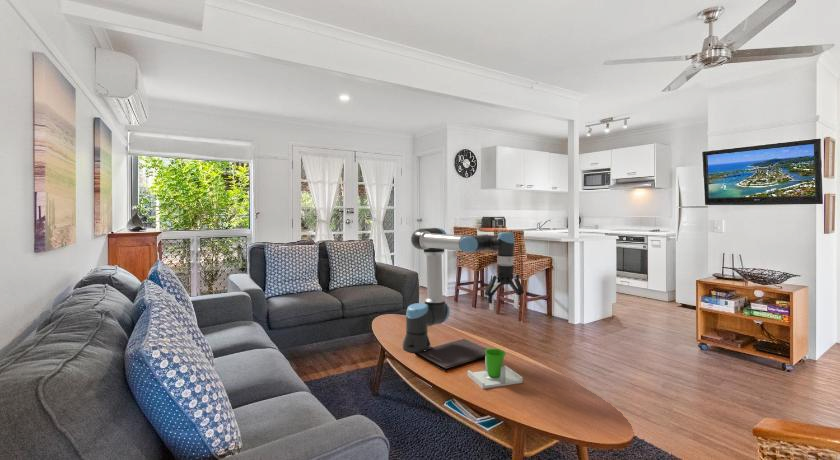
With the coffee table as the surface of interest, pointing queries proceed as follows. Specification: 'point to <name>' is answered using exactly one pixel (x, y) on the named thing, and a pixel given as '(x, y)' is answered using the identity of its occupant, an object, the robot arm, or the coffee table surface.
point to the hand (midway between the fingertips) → (503, 309)
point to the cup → (494, 362)
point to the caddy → (488, 382)
